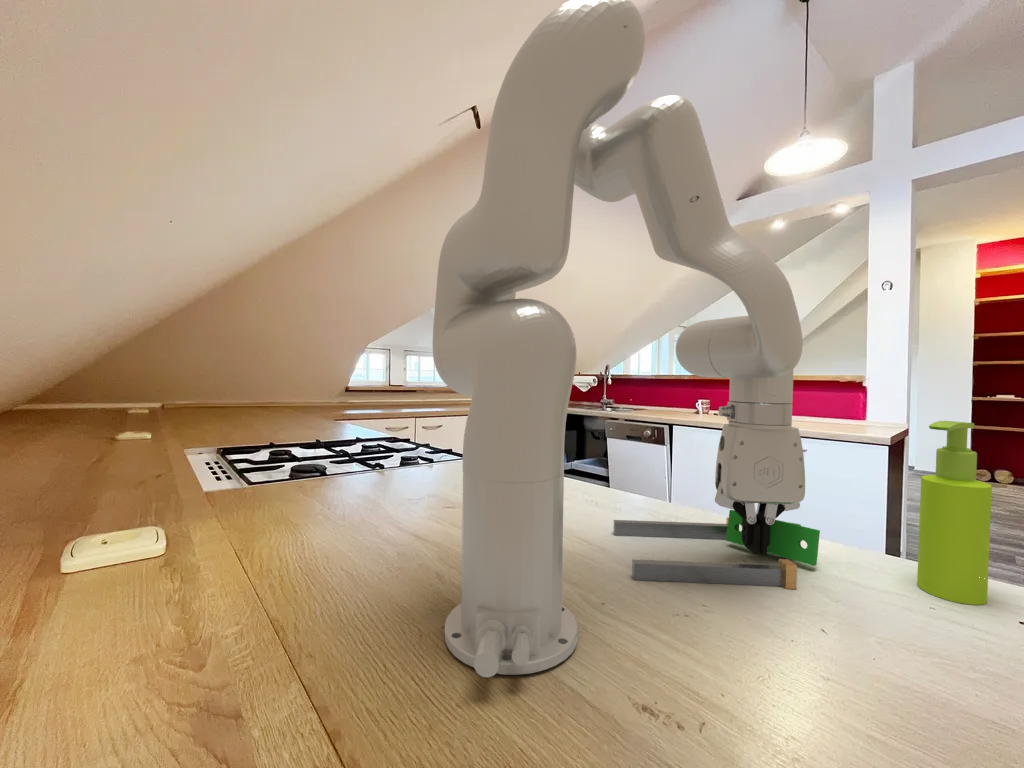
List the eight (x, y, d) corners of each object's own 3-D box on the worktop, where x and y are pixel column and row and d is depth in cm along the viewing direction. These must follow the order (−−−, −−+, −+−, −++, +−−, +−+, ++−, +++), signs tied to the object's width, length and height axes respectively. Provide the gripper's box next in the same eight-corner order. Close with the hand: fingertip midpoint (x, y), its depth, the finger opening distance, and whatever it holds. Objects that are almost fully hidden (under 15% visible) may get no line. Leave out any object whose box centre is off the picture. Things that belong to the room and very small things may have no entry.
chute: (796, 589, 54) (797, 565, 53) (634, 582, 55) (635, 558, 55) (734, 535, 71) (734, 517, 71) (612, 531, 72) (613, 513, 72)
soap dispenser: (901, 587, 54) (907, 419, 54) (933, 577, 57) (939, 418, 57) (965, 611, 49) (973, 425, 49) (997, 599, 52) (1005, 423, 51)
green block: (822, 565, 61) (826, 530, 61) (813, 566, 58) (817, 530, 59) (736, 540, 69) (740, 509, 70) (725, 540, 67) (729, 508, 67)
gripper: (712, 417, 59) (708, 559, 59) (834, 420, 58) (829, 564, 58) (693, 412, 66) (690, 538, 67) (801, 414, 65) (797, 542, 65)
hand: (755, 550), depth 62 cm, fingers closed
